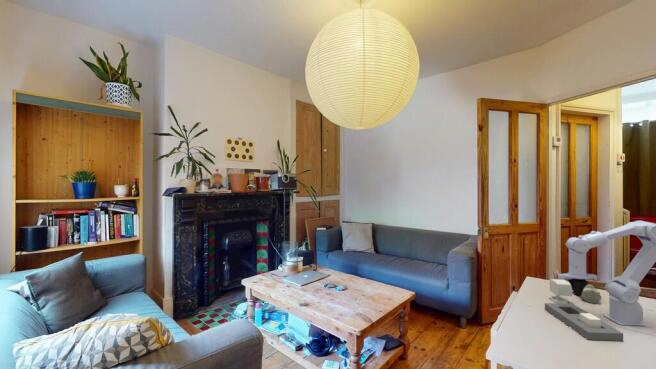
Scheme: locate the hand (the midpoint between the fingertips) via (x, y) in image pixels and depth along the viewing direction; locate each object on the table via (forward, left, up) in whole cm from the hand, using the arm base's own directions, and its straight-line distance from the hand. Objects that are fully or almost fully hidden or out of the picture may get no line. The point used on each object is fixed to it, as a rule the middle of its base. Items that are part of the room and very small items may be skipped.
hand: (577, 295), depth 120 cm
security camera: (-3, -15, -10) cm, 18 cm away
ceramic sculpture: (-19, -19, -10) cm, 28 cm away
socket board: (+4, +6, -9) cm, 12 cm away
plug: (+4, +12, -9) cm, 15 cm away
